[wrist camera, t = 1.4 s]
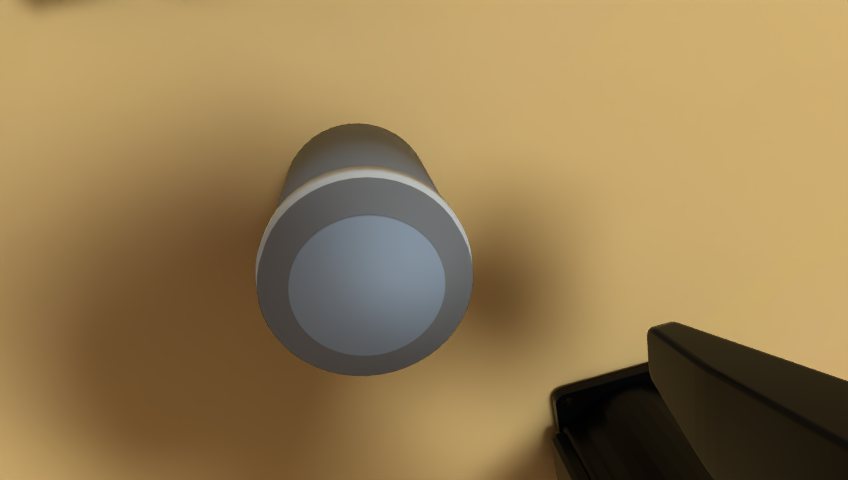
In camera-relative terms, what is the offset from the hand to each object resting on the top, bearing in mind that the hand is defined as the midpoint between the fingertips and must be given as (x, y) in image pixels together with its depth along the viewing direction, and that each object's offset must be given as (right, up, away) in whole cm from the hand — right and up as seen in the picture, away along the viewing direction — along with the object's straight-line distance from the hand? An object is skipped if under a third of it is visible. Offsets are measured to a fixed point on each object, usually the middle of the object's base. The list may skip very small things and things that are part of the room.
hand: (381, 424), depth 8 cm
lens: (-2, +5, +10) cm, 12 cm away
